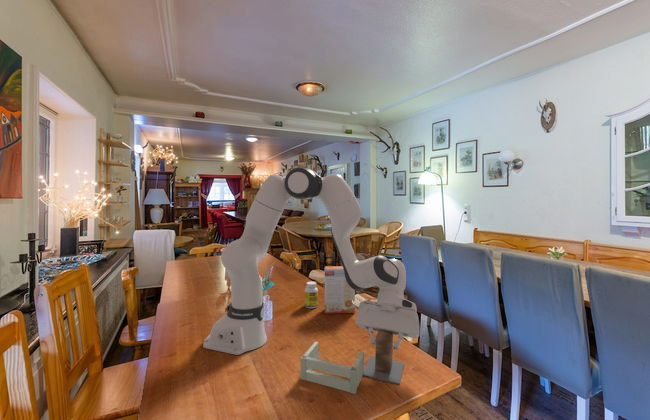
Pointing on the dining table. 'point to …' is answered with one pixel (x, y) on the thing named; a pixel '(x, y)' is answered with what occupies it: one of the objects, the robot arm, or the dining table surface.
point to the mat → (392, 377)
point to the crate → (331, 371)
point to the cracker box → (338, 291)
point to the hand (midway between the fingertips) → (384, 346)
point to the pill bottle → (311, 295)
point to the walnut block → (384, 351)
